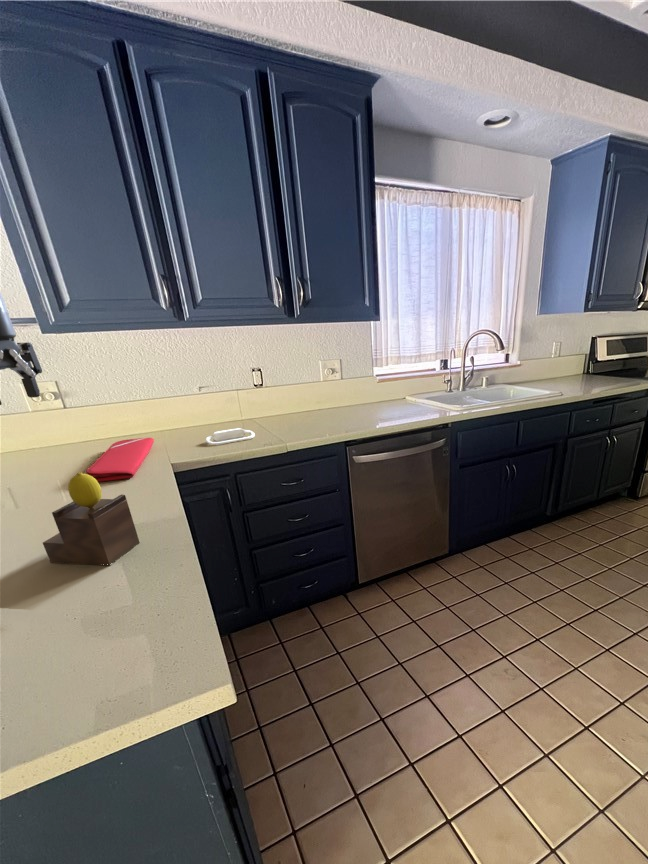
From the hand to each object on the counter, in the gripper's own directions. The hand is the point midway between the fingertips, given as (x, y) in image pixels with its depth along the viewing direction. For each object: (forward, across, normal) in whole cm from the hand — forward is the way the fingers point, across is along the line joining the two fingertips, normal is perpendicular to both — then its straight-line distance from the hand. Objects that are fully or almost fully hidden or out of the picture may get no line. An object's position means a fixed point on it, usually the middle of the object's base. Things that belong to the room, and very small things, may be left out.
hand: (15, 401), depth 84 cm
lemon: (+22, +2, +10) cm, 25 cm away
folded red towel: (+33, -59, -30) cm, 74 cm away
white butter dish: (+33, -90, -3) cm, 96 cm away
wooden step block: (+33, +2, +8) cm, 34 cm away
